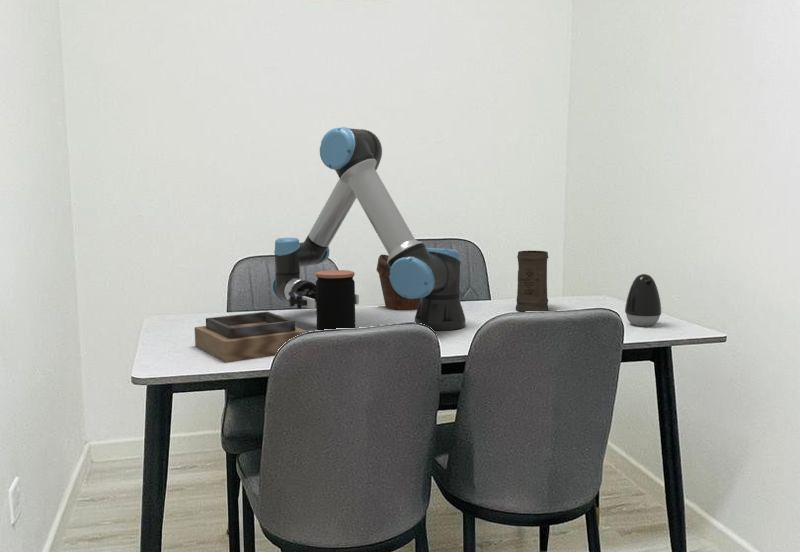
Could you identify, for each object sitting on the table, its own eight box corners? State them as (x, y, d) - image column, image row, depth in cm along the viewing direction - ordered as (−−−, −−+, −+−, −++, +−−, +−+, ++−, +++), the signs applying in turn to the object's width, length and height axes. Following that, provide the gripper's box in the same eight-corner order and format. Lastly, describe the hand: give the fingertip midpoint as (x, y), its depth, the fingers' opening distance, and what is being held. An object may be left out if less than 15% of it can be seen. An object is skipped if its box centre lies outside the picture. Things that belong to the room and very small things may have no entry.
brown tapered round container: (442, 309, 252) (441, 255, 250) (384, 313, 247) (383, 258, 245) (425, 302, 269) (424, 251, 267) (370, 305, 264) (369, 254, 262)
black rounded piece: (632, 328, 219) (634, 276, 217) (619, 322, 229) (621, 272, 227) (666, 328, 219) (668, 276, 217) (652, 321, 229) (654, 271, 227)
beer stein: (548, 313, 243) (549, 251, 242) (514, 312, 245) (515, 251, 244) (548, 309, 258) (550, 250, 257) (516, 308, 260) (518, 249, 259)
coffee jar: (334, 331, 217) (333, 269, 215) (363, 335, 211) (362, 271, 209) (308, 337, 209) (307, 273, 207) (338, 342, 203) (337, 275, 200)
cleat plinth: (272, 335, 212) (271, 309, 211) (308, 350, 193) (307, 321, 193) (195, 345, 200) (194, 317, 199) (225, 362, 181) (224, 331, 180)
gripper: (338, 301, 233) (375, 310, 215) (263, 309, 219) (295, 320, 202) (338, 276, 232) (374, 284, 214) (262, 283, 218) (294, 292, 201)
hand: (336, 301), depth 208 cm, fingers open, 13 cm apart
